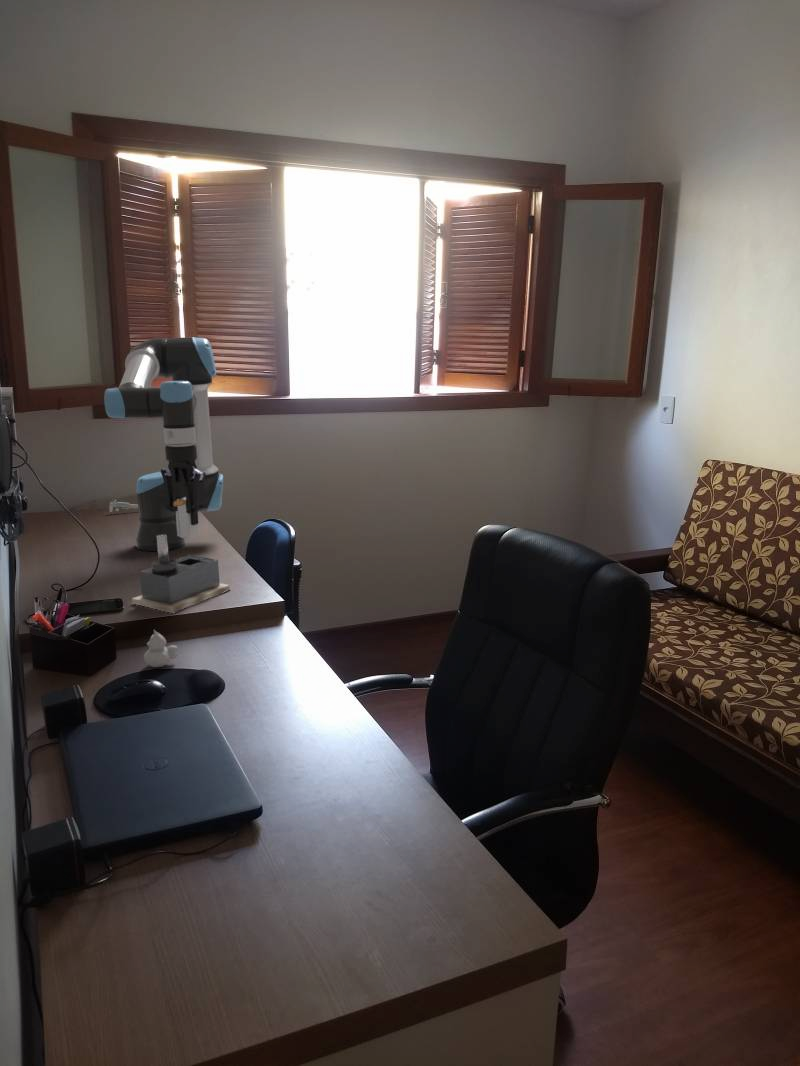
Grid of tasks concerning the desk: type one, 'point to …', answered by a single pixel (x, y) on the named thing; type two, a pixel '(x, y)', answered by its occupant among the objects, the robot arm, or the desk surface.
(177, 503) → the light grey boxy piece
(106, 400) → the robot arm
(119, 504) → the caliper
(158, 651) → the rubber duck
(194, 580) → the block
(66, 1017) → the desk surface
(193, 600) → the base board
